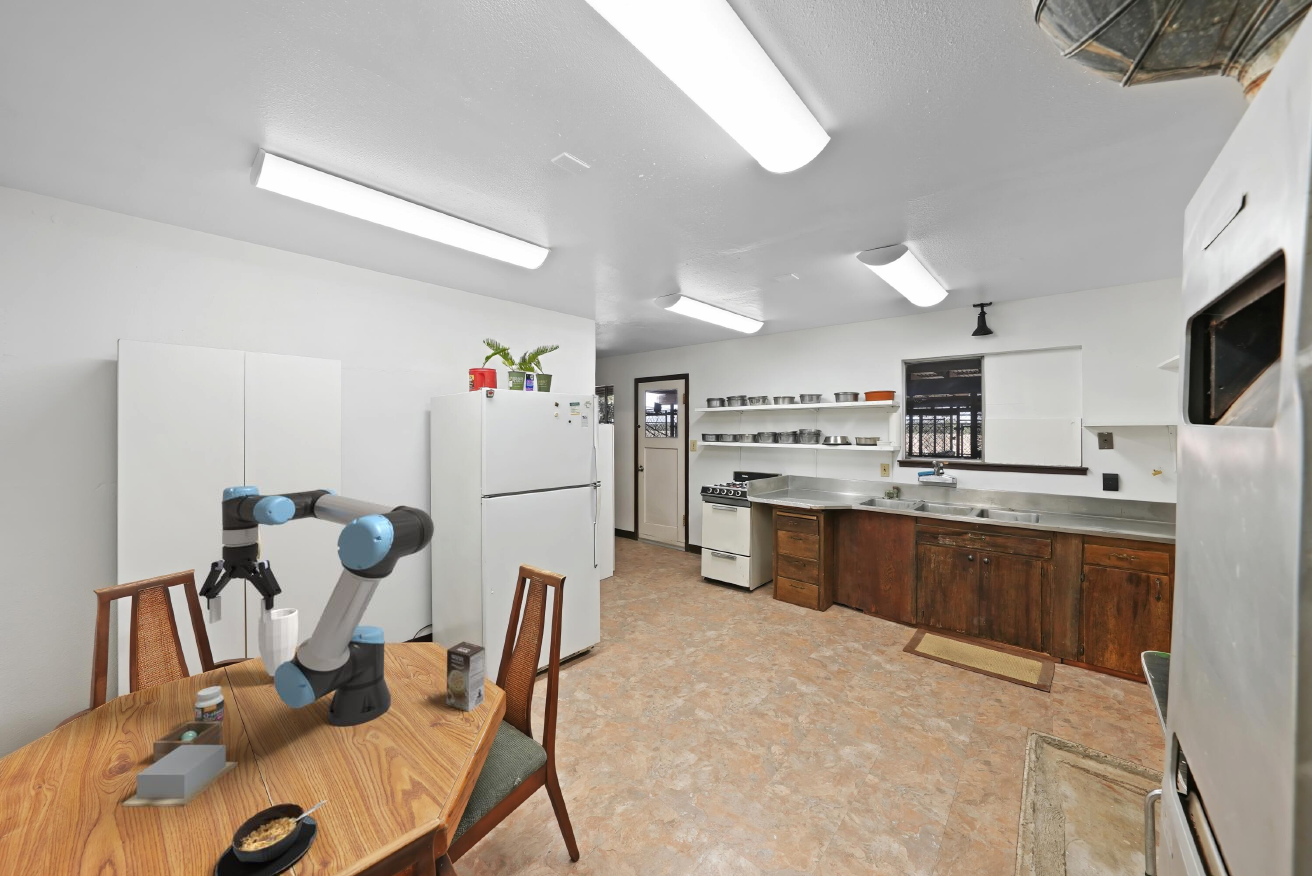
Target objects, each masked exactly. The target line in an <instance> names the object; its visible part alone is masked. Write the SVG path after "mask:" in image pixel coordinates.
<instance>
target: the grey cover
mask: <svg viewBox="0 0 1312 876" xmlns="http://www.w3.org/2000/svg"><path fill="white" fill-rule="evenodd" d="M226 747H227V746H226V744H217V745H181V746H180V747H178V748H177V749H175V750H174V751H172V752H171V753H169V754H168V755H166V756H165V757H163V758H162V759H160V760H159V761H157V762H155V763H154V764H153V763H152V764H151V765H150V766H148V767H147V768H145V769H144V770H142V771H140V772H139V773H137V774H136V794H137V798H186V797H187V796H188V795H189V794H191V793H192V792H193V791H194V790H196V789H197V788H198V787H200V786H201V785H202V784H203V783H205V782H206V781H207V780H209V779H210V778H211V777H212V776H214V775H215V774H216V773H218V772H219V771H220V770H221V769H223V768H224V767H225V766H226V762H227V761H226V758H227V757H226V752H227V751H226Z"/></svg>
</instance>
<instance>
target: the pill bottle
mask: <svg viewBox="0 0 1312 876" xmlns="http://www.w3.org/2000/svg"><path fill="white" fill-rule="evenodd" d="M197 699H198V700H197V701H196V702H195V704H194V721H221V722H222V725H223V724H224V720H225V719H224V718H225V696H224V695H223V694H222V686H220V685H217V686H216V685H214V686H209V687H207V688H203V689H201V690H199V691H198V692H197Z"/></svg>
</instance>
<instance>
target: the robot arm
mask: <svg viewBox="0 0 1312 876" xmlns="http://www.w3.org/2000/svg"><path fill="white" fill-rule="evenodd" d="M221 514H222V515H221V517H222V518H221V519H222V520H221V522H222V524H221V525H222V526H221V527H222V529H221V534H222V535H221V544H222V545H223V546H222V548H221V550H222V551H221V552H222V553H221V555H222V557H221V558H222V559H220V560H217V561H216V560H215V561H213V562H212V563H211V564H210V570H209V573H208V575H207V577H206V579H205V580H204V583H203V584H202V587H201V588H200V591H199V593H198V596H199V597H205V598H206V600H207V601H206V605H207V607H206V608H207V610H208V611H209V624H214V623H217V622H219V621H220V620H222V596H221V595H220V594H221V592H222V591H223V589H224V588H225V587H226V586H227V585H228V583H230V582H231V580H233V579H234V580H235V579H240V580H243V579H245V580H247V581H249V582H250V583H251V585H253V586H254V587H255V590H257V592H258V593H260V595H261V596H262V597H263V598H260V615H261V623H265V622H267V621H269V620H271V611H272V610H273V609H274V605H275V604H274V601H275V600H274V598H275V596H277V595H279V594H281V593H282V589H281V586H280V584H279V583H278V580H277V578H276V577H275V575H274V573H273V571H272V568H271V563H270V560H268V559H266V560H262V561H258V559H257V558H258V555H259V543H258V541H259V524H260V525H266V526H274V525H275V526H280V525H284V524H286V523H288V522H289V521H296V520H303V519H307V518H314V519H317V520H323V521H327V522H331V523H336V524H339V525H343V526H344V528H343V529H342V530H341V532H340V534H339V536H338V539H337V547H339V549H338V550H337V554H338V558H339V560H340V564H341V567H342V568H343V570H342V572H341V574H340V576H339V578H338V580H337V582H336V584H335V586H334V588H333V591H332V593H331V595H330V597H329V599H328V601H327V603H326V605H325V608H324V609H323V611H322V613H321V615H320V618H319V620H318V622H317V624H316V626H315V628H314V630H313V632H312V634H311V637H309V638H306V639H305V640H304V641H302V643H300V644H299V646H298V648H297V650H296V651H295V653H294V657H293V659H292V660H290V661H286V662H284V663H283V664H281V665H280V666H279V667H278V668H277V669H276V671H275V675H274V676H273V681H274V683H273V684H274V688H275V691H276V693H277V695H278V696H279V699H280V700H281V701H282V702H283V703H284V704H285V705H286V706H287V707H290V708H293V709H300V708H303V707H305V706H307V705H309V704H310V705H311V704H312V703H315V701H316V702H317V701H318V700H320V699H321V698H323V697H325V696H327V695H328V694H331V693H333V692H334V693H333V695H332V699H331V702H330V704H329V708H328V712H327V713H328V714H327V720H328V722H329V723H330V724H331V725H333V726H335V727H336V726H338V727H351V726H356V725H361V724H364V723H368V722H370V721H373V720H374V719H377V718H379V717H381V716H382V715H383V714H385V713H386V712H387V711H388V710H389V709H390V707H391V706H392V697H391V696H392V695H391V693H390V690H389V687H388V684H387V682H386V680H385V642H386V641H385V635H384V630H383V629H382V628H381V627H379V626H375V625H360V623H361V620H362V618H363V617H364V614H365V612H366V610H367V609H368V606H369V605H370V602H371V600H372V599H373V596H374V594H375V593H376V591H377V588H378V586H379V584H380V582H381V580H382V579H386V578H387V577H389V576H390V575H391V574H392V572H393V570H394V569H395V567H396V565H397V562H398V561H399V560H400V559H401V558H403V557H407V556H410V555H414V554H416V553H418V552H421V551H422V550H423V549H425V548H426V547H427V546H428V545H429V544H430V542H431V540H432V538H433V536H434V530H435V525H434V522H433V519H432V517H431V516H430V515H429V513H427V512H426V511H424V510H423V509H420V508H416V507H412V506H407V505H396V506H394V507H393V506H389V505H385V504H380V503H379V504H378V503H374V502H370V501H367V500H366V501H365V500H361V499H356V498H350V497H346V496H341V495H338V493H336V491H334V490H333V489H329V488H327V489H320V488H318V489H315V490H307V491H306V490H305V491H298V492H290V493H288V492H287V493H279V494H269V495H265V494H264V495H262V494H260V492H259V488H258V487H257V486H251V485H249V486H248V485H247V486H246V485H243V486H240V485H239V486H231V487H230V486H229V487H227V488H224V489H223V492H222V500H221ZM223 570H224V573H222V572H223ZM221 573H222V575H221ZM220 575H221V576H220ZM219 578H220V579H219Z"/></svg>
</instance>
